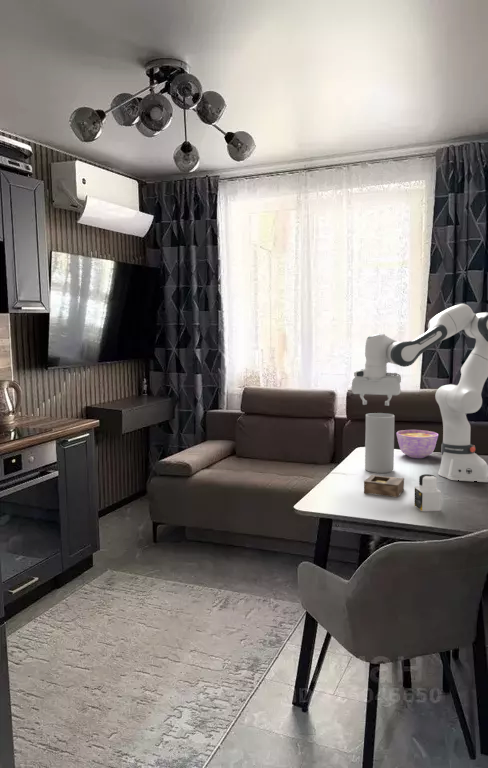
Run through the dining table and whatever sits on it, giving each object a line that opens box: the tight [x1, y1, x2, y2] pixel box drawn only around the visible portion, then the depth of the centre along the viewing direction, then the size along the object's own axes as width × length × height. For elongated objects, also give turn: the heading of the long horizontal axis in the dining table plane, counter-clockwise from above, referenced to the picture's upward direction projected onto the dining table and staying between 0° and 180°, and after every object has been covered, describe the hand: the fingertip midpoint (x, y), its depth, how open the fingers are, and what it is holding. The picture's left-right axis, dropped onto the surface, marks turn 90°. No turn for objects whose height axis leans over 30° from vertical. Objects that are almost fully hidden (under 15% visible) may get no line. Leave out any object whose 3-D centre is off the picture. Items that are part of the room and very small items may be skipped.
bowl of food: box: [395, 429, 439, 459], centre depth 289 cm, size 20×20×12 cm
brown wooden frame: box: [363, 474, 405, 498], centre depth 229 cm, size 13×11×5 cm
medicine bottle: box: [413, 474, 442, 513], centre depth 208 cm, size 7×7×12 cm
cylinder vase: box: [364, 412, 395, 474], centre depth 262 cm, size 12×12×25 cm
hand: (375, 405), depth 247 cm, fingers open, 8 cm apart
